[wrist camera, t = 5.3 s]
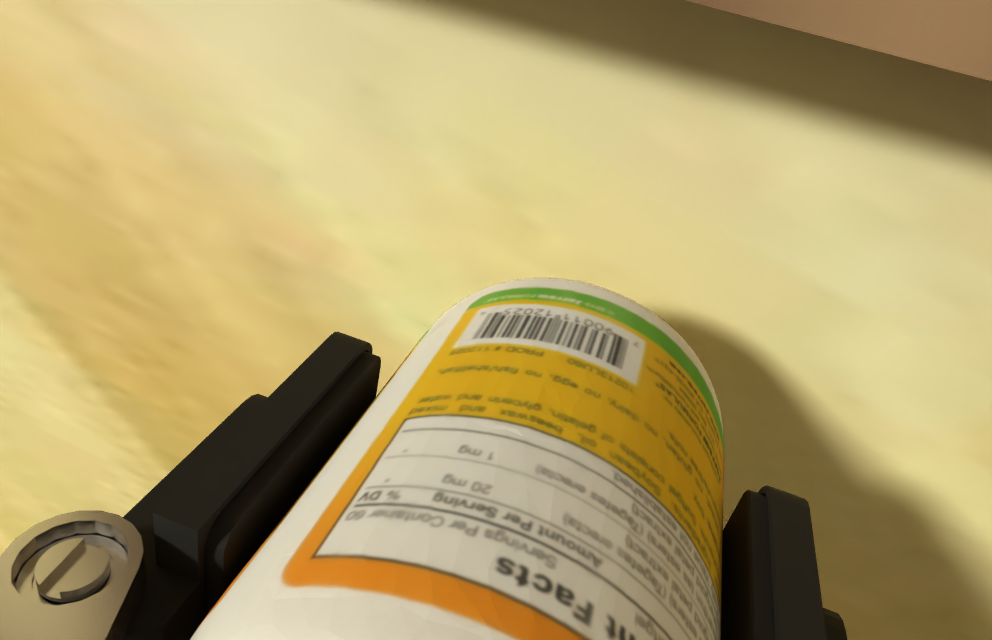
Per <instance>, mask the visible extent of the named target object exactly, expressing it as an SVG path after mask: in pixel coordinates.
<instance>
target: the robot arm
mask: <svg viewBox="0 0 992 640" xmlns="http://www.w3.org/2000/svg"><path fill="white" fill-rule="evenodd" d="M380 366H381V359H380V357H379V356H376V355H373V354H372V345H371V344H370V343H368V342H365V341H362V340H360V339H357V338H354V337H351V336H348V335H346V334H343V333H340V332H334V333H333V334H332V335H330V336H329V337H328V338H327V339H326V340H325V341H324V342H323V343H322V344H321V345H320V346H319V347H318V348H317V349H316V350H315V351H314V352H313V353H312V354H311V355H310V356H309V357H308V358H307V359H306V360H305V361H304V362H303V363H302V364H301V365H300V366H299V367H298V368H297V369H296V370H295V371H294V372H293V373H292V374H291V375H290V376H289V377H288V378H287V379H286V380H285V381H284V382H283V383H282V384H281V385H280V386H279V387H278V388H277V389H276V390H275V391H274V392H273V393H272V394H271V395H270V396H269V397H265V396H263V395H260V394H256V395H253V396H251V397H250V398H248V399H247V400H246V401H244V402H243V403H242V404H241V405H240V406H239V407H238V408H237V409H236V410H235V411H234V412H233V413H232V414H231V415H230V416H228V417H227V418H226V419H225V420H224V421H223V422H222V423H221V424H220V425H219V426H218V427H217V428H216V429H215V430H214V431H213V432H212V433H211V434H210V435H209V436H208V437H206V438H205V439H204V440H203V441H202V442H201V443H200V444H199V445H198V446H197V447H196V448H195V449H194V450H193V451H192V452H191V453H190V454H189V455H188V456H187V457H186V458H185V459H183V460H182V461H181V462H180V463H179V464H178V465H177V466H176V467H175V468H174V469H173V470H172V471H171V472H170V473H169V474H168V475H167V476H166V477H165V478H164V479H163V480H162V481H160V482H159V483H158V484H157V485H156V486H155V487H154V488H153V489H152V490H151V491H150V492H149V493H148V494H147V495H146V496H145V497H144V498H143V499H142V500H141V501H140V502H139V503H137V504H136V505H135V506H134V507H133V508H132V509H131V510H130V511H129V512H128V513H127V514H126V515H125V516H124V517H123V518H122V517H121V516H119V515H116V514H112V513H108V512H104V511H76V512H71V513H66V514H62V515H57V516H55V517H52V518H50V519H48V520H45V521H43V522H40V523H38V524H36V525H34V526H33V527H31V528H30V529H28V530H27V531H26V532H24V533H23V534H21V535H20V536H18V537H17V538H16V539H15V540H14V541H13V542H12V543H11V544H10V545H9V547H8V548H7V549H6V550H5V551H4V552H3V553H2V555H1V556H0V640H190V639H191V637H192V636H193V634H194V633H195V631H196V630H197V628H198V626H199V625H200V624H201V623H202V621H203V620H204V619H205V617H206V616H207V615H208V613H209V612H210V611H211V609H212V608H213V607H214V606H215V604H216V603H217V602H218V600H219V599H220V598H221V596H222V595H223V594H224V592H225V591H226V590H227V588H228V587H229V586H230V585H231V583H232V582H233V581H234V579H235V578H236V577H237V576H238V574H239V573H240V572H241V571H242V569H243V568H244V567H245V565H246V564H247V563H248V562H249V560H250V559H251V558H252V557H253V555H254V554H255V553H256V552H257V550H258V549H259V548H260V547H261V545H262V544H263V543H264V542H265V540H266V539H267V538H268V536H269V535H270V534H271V533H272V531H273V530H274V529H275V527H276V526H277V525H278V524H279V522H280V521H281V520H282V518H283V517H284V516H285V515H286V513H287V512H288V511H289V509H290V508H291V507H292V506H293V504H294V503H295V502H296V500H297V499H298V498H299V496H300V495H301V494H302V493H303V491H304V490H305V489H306V487H307V486H308V485H309V484H310V482H311V481H312V480H313V478H314V477H315V476H316V474H317V473H318V472H319V471H320V469H321V468H322V467H323V465H324V464H325V463H326V462H327V460H328V459H329V458H330V456H331V455H332V454H333V452H334V451H335V450H336V449H337V447H338V446H339V445H340V443H341V442H342V441H343V439H344V438H345V437H346V436H347V434H348V433H349V432H350V430H351V429H352V428H353V426H354V425H355V424H356V423H357V421H358V420H359V419H360V417H361V416H362V415H363V413H364V412H365V411H366V410H367V408H368V407H369V406H370V404H371V403H372V402H373V400H374V399H375V398H376V393H377V386H378V379H379V373H380ZM721 640H847V636H846V630H845V627H844V623H843V620H842V619H841V617H840V616H839V614H838V613H835V612H833V611H830V610H827V609H825V608H823V607H822V599H821V592H820V584H819V577H818V569H817V561H816V554H815V546H814V539H813V531H812V523H811V516H810V508H809V504H808V502H807V501H806V500H805V499H803V498H800V497H798V496H795V495H792V494H789V493H787V492H784V491H781V490H778V489H775V488H773V487H770V486H764V487H762V488H761V489H760V491H759V492H758V493H756V492H753V491H751V490H747V491H746V492H745V493H744V494H743V496H742V497H741V499H740V501H739V503H738V505H737V506H736V508H735V510H734V512H733V513H732V515H731V517H730V519H729V521H728V522H727V524H726V526H725V528H724V529H723V532H722V592H721Z"/></svg>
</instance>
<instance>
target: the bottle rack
mask: <svg viewBox="0 0 992 640" xmlns="http://www.w3.org/2000/svg"><path fill="white" fill-rule="evenodd" d="M685 1H688V2H692V3H696V4H700V5H704V6H707V7H711V8H715V9H719V10H723V11H726V12H730V13H734V14H738V15H742V16H745V17H749V18H753V19H757V20H761V21H765V22H768V23H772V24H776V25H780V26H784V27H787V28H791V29H795V30H799V31H803V32H806V33H810V34H814V35H818V36H822V37H825V38H829V39H833V40H837V41H841V42H844V43H848V44H852V45H856V46H860V47H863V48H867V49H871V50H875V51H879V52H883V53H886V54H890V55H894V56H898V57H902V58H905V59H909V60H913V61H917V62H921V63H924V64H928V65H932V66H936V67H940V68H943V69H947V70H951V71H955V72H959V73H962V74H966V75H970V76H974V77H978V78H981V79H985V80H989V81H992V0H685Z"/></svg>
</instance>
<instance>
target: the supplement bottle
mask: <svg viewBox="0 0 992 640" xmlns="http://www.w3.org/2000/svg"><path fill="white" fill-rule="evenodd" d="M723 483H724V438H723V424H722V417H721V410H720V406H719V402H718V399H717V396H716V393H715V390H714V387H713V385H712V383H711V381H710V378H709V376H708V374H707V372H706V370H705V368H704V366H703V365H702V363H701V361H700V360H699V358H698V357H697V355H696V354H695V353H694V351H693V350H692V348H691V347H690V346H689V345H688V344H687V342H686V341H685V340H684V339H683V338H682V337H681V336H680V335H679V334H678V333H677V332H676V331H675V330H674V329H673V328H672V327H671V326H670V325H669V324H667V323H666V322H665V321H664V320H663V319H661V318H660V317H658V316H657V315H656V314H654V313H653V312H651V311H650V310H648V309H647V308H645V307H643V306H642V305H640V304H638V303H636V302H634V301H633V300H631V299H629V298H627V297H625V296H623V295H620V294H618V293H615V292H613V291H610V290H608V289H605V288H602V287H599V286H596V285H593V284H589V283H585V282H581V281H575V280H568V279H560V278H527V279H517V280H512V281H508V282H503V283H499V284H496V285H493V286H490V287H487V288H484V289H482V290H480V291H478V292H476V293H474V294H472V295H470V296H468V297H466V298H465V299H463V300H461V301H460V302H458V303H457V304H455V305H454V306H453V307H451V308H450V309H449V310H448V311H446V312H445V313H444V314H443V315H442V316H441V317H440V318H439V319H438V320H437V321H436V322H435V323H434V324H433V325H432V327H431V328H430V329H429V330H428V331H427V332H426V334H425V335H424V336H423V337H422V338H421V339H420V340H419V342H418V343H417V344H416V346H415V347H414V348H413V349H412V351H411V352H410V353H409V355H408V356H407V357H406V359H405V360H404V361H403V363H402V364H401V365H400V367H399V368H398V369H397V370H396V372H395V373H394V374H393V376H392V377H391V378H390V380H389V381H388V382H387V383H386V385H385V386H384V387H383V389H382V390H381V391H380V393H379V394H378V395H377V397H376V398H375V399H374V400H373V402H372V403H371V404H370V406H369V407H368V408H367V410H366V411H365V412H364V413H363V415H362V416H361V417H360V419H359V420H358V421H357V423H356V424H355V425H354V426H353V428H352V429H351V430H350V432H349V433H348V434H347V436H346V437H345V438H344V439H343V441H342V442H341V443H340V445H339V446H338V447H337V449H336V450H335V451H334V452H333V454H332V455H331V456H330V458H329V459H328V460H327V462H326V463H325V464H324V465H323V467H322V468H321V469H320V471H319V472H318V473H317V474H316V476H315V477H314V478H313V480H312V481H311V482H310V484H309V485H308V486H307V487H306V489H305V490H304V491H303V493H302V494H301V495H300V496H299V498H298V499H297V500H296V502H295V503H294V504H293V506H292V507H291V508H290V509H289V511H288V512H287V513H286V515H285V516H284V517H283V518H282V520H281V521H280V522H279V524H278V525H277V526H276V527H275V529H274V530H273V531H272V533H271V534H270V535H269V536H268V538H267V539H266V540H265V542H264V543H263V544H262V545H261V547H260V548H259V549H258V550H257V552H256V553H255V554H254V555H253V557H252V558H251V559H250V560H249V562H248V563H247V564H246V565H245V567H244V568H243V569H242V571H241V572H240V573H239V574H238V576H237V577H236V578H235V579H234V581H233V582H232V583H231V585H230V586H229V587H228V588H227V590H226V591H225V592H224V594H223V595H222V596H221V598H220V599H219V600H218V602H217V603H216V604H215V606H214V607H213V608H212V609H211V611H210V612H209V613H208V615H207V616H206V617H205V619H204V620H203V621H202V623H201V624H200V625H199V626H198V628H197V630H196V631H195V633H194V634H193V636H192V637H191V639H190V640H721V592H722V532H723Z"/></svg>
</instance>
